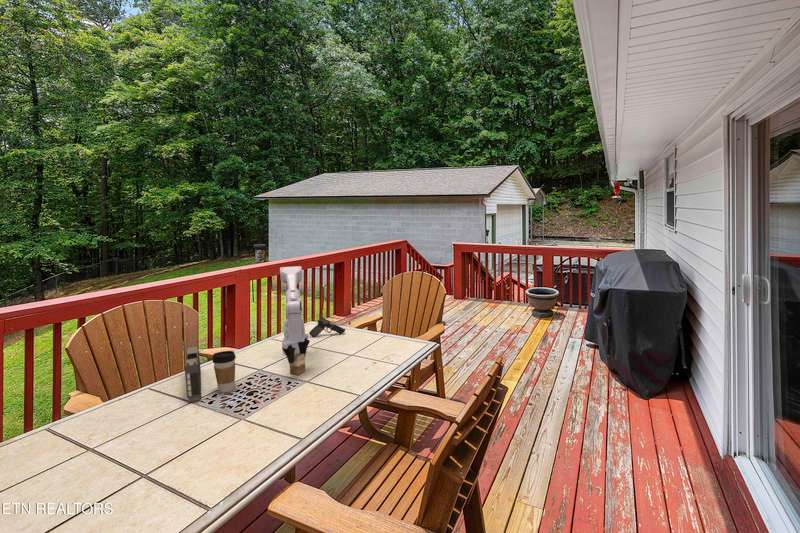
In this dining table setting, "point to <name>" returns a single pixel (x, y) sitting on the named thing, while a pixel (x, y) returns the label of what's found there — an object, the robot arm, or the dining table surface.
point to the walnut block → (297, 370)
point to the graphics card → (193, 374)
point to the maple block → (298, 360)
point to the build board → (298, 376)
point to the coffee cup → (225, 370)
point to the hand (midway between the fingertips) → (297, 359)
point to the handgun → (325, 323)
